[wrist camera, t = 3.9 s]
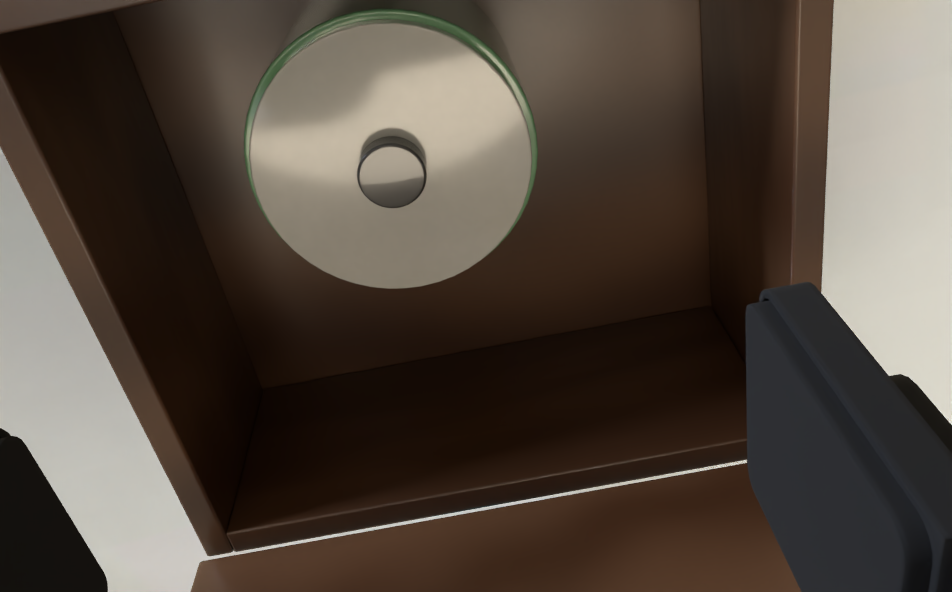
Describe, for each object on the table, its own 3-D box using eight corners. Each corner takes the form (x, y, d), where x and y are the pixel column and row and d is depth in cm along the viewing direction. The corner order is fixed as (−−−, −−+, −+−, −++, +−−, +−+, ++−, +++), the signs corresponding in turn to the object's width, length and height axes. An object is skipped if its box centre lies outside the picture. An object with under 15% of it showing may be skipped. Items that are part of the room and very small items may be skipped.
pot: (242, -2, 22) (188, 55, 17) (494, -54, 22) (519, -12, 17) (313, 224, 26) (287, 331, 21) (531, 182, 26) (562, 279, 20)
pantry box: (69, -52, 22) (-75, 4, 16) (713, -187, 22) (844, -187, 15) (252, 396, 30) (207, 558, 24) (726, 307, 30) (815, 448, 23)
